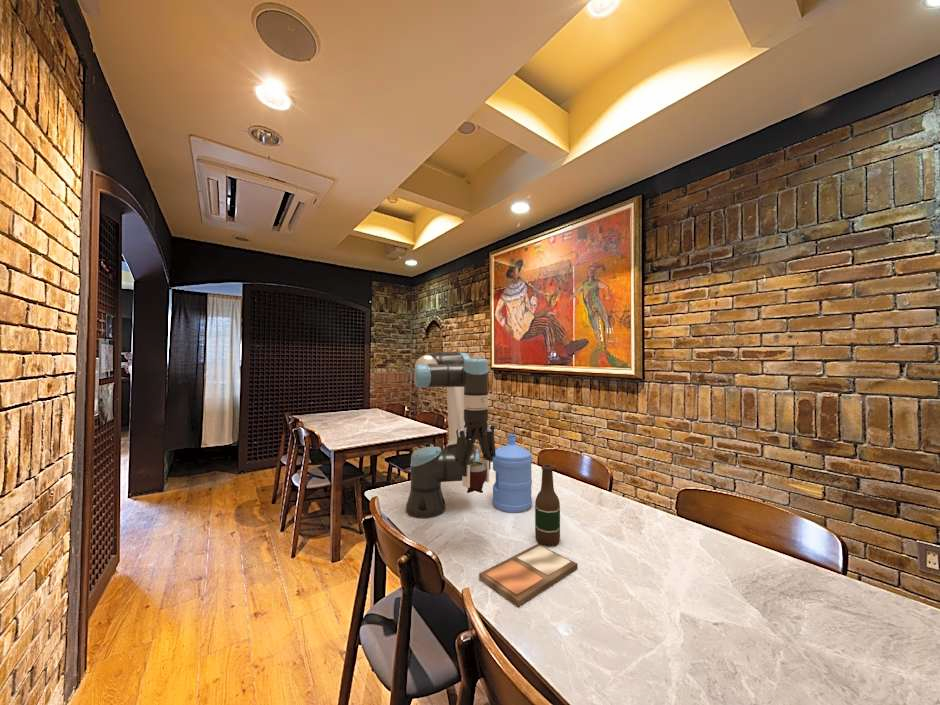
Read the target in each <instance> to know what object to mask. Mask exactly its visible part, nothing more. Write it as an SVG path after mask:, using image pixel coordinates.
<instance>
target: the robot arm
mask: <svg viewBox="0 0 940 705" xmlns="http://www.w3.org/2000/svg"><path fill="white" fill-rule="evenodd" d="M488 363H489V361H488V359H486V358H471V357H470V355H469V353H467V352H459V351H458V352H429V353H426V354H423V355H421V356H419V357H418V359H416V361H415V364H414V385H415V387H417V388H424V389H427V388H446V398H447V399H446V403H447V420H448V424H447V425H448V443H447V444H446V446H445V450H442V448H441V447H440V446H433V445H432V446H426V447H425V446H424V447H421V448H419V449H416V450H414V451H413V452H412V453H411V455H410V456H411V457H410V464H409V465H410V492H409V495H408V498H407V502H406V504H405V512H406V514H407V515H408V516H411V517H413V518H418V519H427V518H429V519H430V518H433V517H438V516H440V515H442V514H444V513H445V512H446V508H447V506H446V501H445V497H444V494H443V491H442V483H447V482H448V483H449V482H462V483H461V485H462V487H464V488H467V489H468V488H470V465H468V463H469V462H473V460H474V449H475V446H476V445H475V443H476V440H477V441H478V443H479V446H480V449H481V453H482V457H483V458H482V459H481V458H480V457H481V456H480V450H479V449H478V448H476V457H475V462H481V463H483V464H484V465H485V467H486V474H487V475H486V480H485V482H486V483H490V470H491V461H492V460H493V457H495V456H496V453H495V450H496V446H495V444H496V443H495V442H496V441H495V427H496V426H495V425H491V424H488V423H487V422H488V421H489V410H488V408H489V371H490V369H489V364H488ZM480 460H481V461H480ZM492 462H493V461H492ZM485 482H484V483H485Z"/></svg>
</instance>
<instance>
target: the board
mask: <svg viewBox="0 0 940 705" xmlns="http://www.w3.org/2000/svg"><path fill="white" fill-rule="evenodd" d="M577 570H578V563H577V562H575V561H573V560H571V559H570V558H567V557H565V556H564V555H561V554H559V553H557V552H555V551H553V550H551V549H549V548H548V547H546V546H543V545H540V544H539V543H537V544H535V545H532V546H531V547H529V548H526V549H524V550H523V551H520V552H519V553H516V554H514V555H513V556H511V557H509V558H507V559H505V560H503V561H501V562H499V563H497V564H495V565H493V566H491V567H489V568H487V569H485V570H483V571H480V572H479V573H478V579H479V580H480V581H481V582H482V583H483V584H485V585H486V586H488V587H489V588H491V589H492V590H494V592H496V593H498V594H499V595H500V596H501V597H503V598H505V599H506V600H508V601H509V602H511V604H513V605H514V606H516V607H517V608H520V607H521V606H523V605H524V604H526V603H527V602H529V601H530V600H532V599H534V598H535V597H537V596H539V594H541V593H543V592H544V591H547V590H548V589H549V588H551V587H552V586H554V585H556V584H557V583H559V582H560V581H562V580H563V579H565V578H566V577H568V576H569V575H571V574H572V573H574V572H576V571H577Z"/></svg>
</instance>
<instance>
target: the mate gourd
mask: <svg viewBox="0 0 940 705" xmlns="http://www.w3.org/2000/svg"><path fill="white" fill-rule="evenodd" d="M474 446H475V449H474V460H473V462H469V463H468V465H470V488H467V490H466V492H467V494H469V493H473V492H478V493H480V494H483V493H484V491H483V486H484V484H485V480H486V475H487V474H486V467H485V465H484V464H483V463H482V461H480V462H475V457H476V449H478V445H474Z"/></svg>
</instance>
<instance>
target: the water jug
mask: <svg viewBox="0 0 940 705" xmlns="http://www.w3.org/2000/svg"><path fill="white" fill-rule="evenodd" d="M507 436H508V437H507V444H506V445H503V446H501V447H499V448H497V449H496V448H495V453H496V456H495V457H493V460H492V470H493V471H494V472H495V483H494V484H493V485H492V498H491V499H492V505H493V507H495V508H496V509H498V510H500V511H503V512H506V513H508V512H509V513H521V512H525V511H527V510H530V508H531V507H532V505H533V498H532V485H533V480H532V464H533V463H532V462H533V458H532V453H531V451H530V450H527V449H526V448H523V447H521V446H519V445H518V444H517V439H516V436H517V434H515V433H508V434H507Z"/></svg>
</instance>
